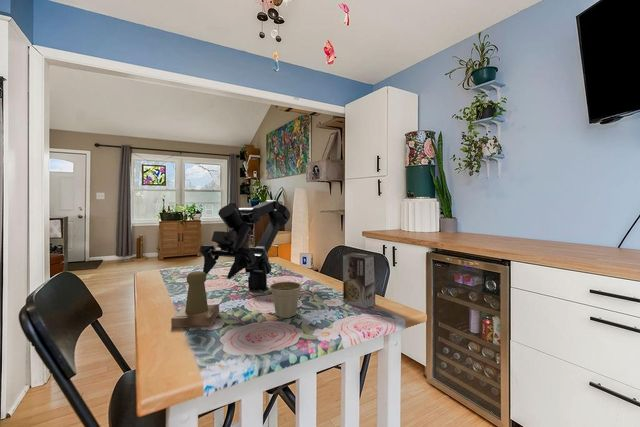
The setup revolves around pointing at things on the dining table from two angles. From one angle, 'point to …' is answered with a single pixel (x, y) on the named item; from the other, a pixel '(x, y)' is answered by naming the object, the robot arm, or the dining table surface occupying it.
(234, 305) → the dining table surface
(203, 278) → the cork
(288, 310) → the flower pot
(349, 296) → the coffee box
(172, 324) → the walnut plinth
